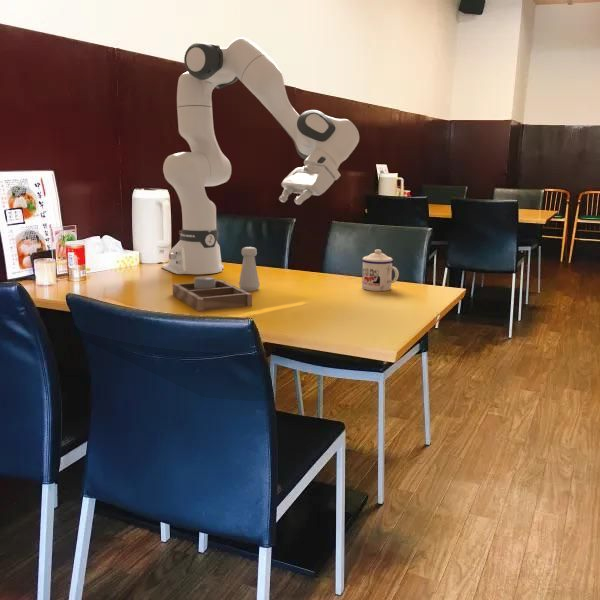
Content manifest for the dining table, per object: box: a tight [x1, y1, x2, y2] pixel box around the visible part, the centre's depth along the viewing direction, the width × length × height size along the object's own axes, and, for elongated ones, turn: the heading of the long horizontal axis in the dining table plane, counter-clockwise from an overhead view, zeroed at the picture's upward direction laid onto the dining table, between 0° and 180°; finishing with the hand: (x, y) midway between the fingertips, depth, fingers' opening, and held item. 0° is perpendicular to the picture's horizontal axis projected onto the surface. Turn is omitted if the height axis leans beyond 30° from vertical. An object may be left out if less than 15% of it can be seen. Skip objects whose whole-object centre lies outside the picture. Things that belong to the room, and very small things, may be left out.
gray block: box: [193, 275, 216, 290], centre depth 166 cm, size 6×6×5 cm
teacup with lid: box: [361, 249, 400, 292], centre depth 183 cm, size 12×9×12 cm
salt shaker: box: [238, 246, 260, 292], centre depth 176 cm, size 6×6×13 cm
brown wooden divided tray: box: [172, 279, 253, 312], centre depth 162 cm, size 21×14×4 cm
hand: (288, 201), depth 177 cm, fingers open, 8 cm apart
